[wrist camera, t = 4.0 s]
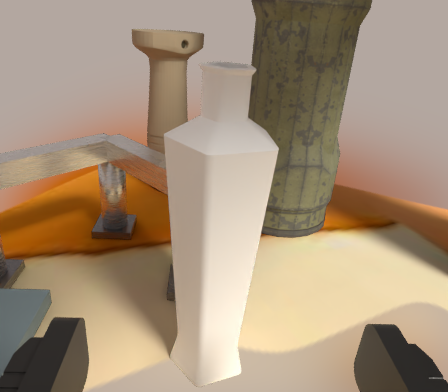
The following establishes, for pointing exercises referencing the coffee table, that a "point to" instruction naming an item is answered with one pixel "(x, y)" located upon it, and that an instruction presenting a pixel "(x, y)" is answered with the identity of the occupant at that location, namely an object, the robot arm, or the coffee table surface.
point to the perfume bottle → (216, 220)
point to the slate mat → (20, 319)
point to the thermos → (302, 102)
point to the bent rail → (108, 181)
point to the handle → (166, 78)
